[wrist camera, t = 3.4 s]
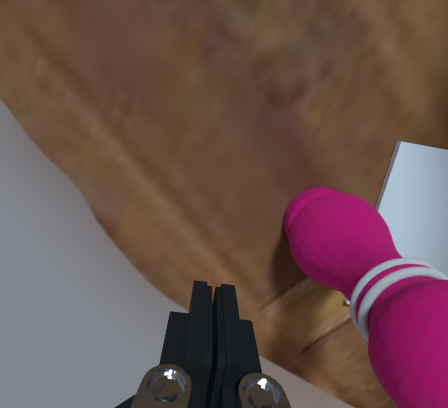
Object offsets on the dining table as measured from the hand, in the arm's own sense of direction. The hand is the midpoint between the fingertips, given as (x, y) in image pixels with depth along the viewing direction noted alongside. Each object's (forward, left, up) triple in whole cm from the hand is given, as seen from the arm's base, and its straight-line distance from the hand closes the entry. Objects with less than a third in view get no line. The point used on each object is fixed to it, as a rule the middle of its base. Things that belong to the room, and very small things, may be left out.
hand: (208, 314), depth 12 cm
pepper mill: (0, +10, -15) cm, 18 cm away
